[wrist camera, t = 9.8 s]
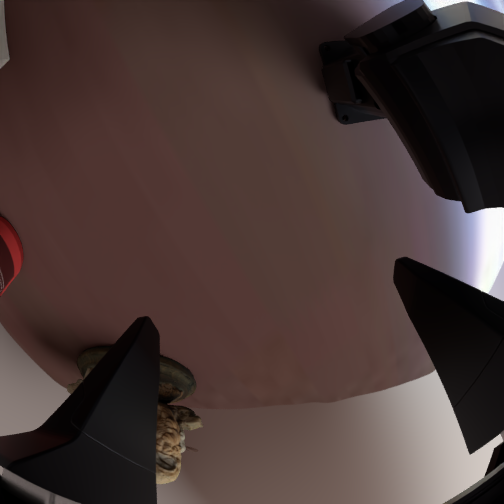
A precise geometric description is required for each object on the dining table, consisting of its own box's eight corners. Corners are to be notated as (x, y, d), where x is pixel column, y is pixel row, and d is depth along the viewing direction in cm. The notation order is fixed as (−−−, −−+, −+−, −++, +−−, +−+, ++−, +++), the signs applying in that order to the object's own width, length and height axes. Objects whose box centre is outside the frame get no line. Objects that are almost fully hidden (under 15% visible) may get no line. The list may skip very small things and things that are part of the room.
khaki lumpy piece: (198, 349, 30) (196, 496, 15) (207, 397, 36) (209, 505, 21) (65, 339, 28) (25, 454, 13) (95, 387, 34) (76, 482, 20)
